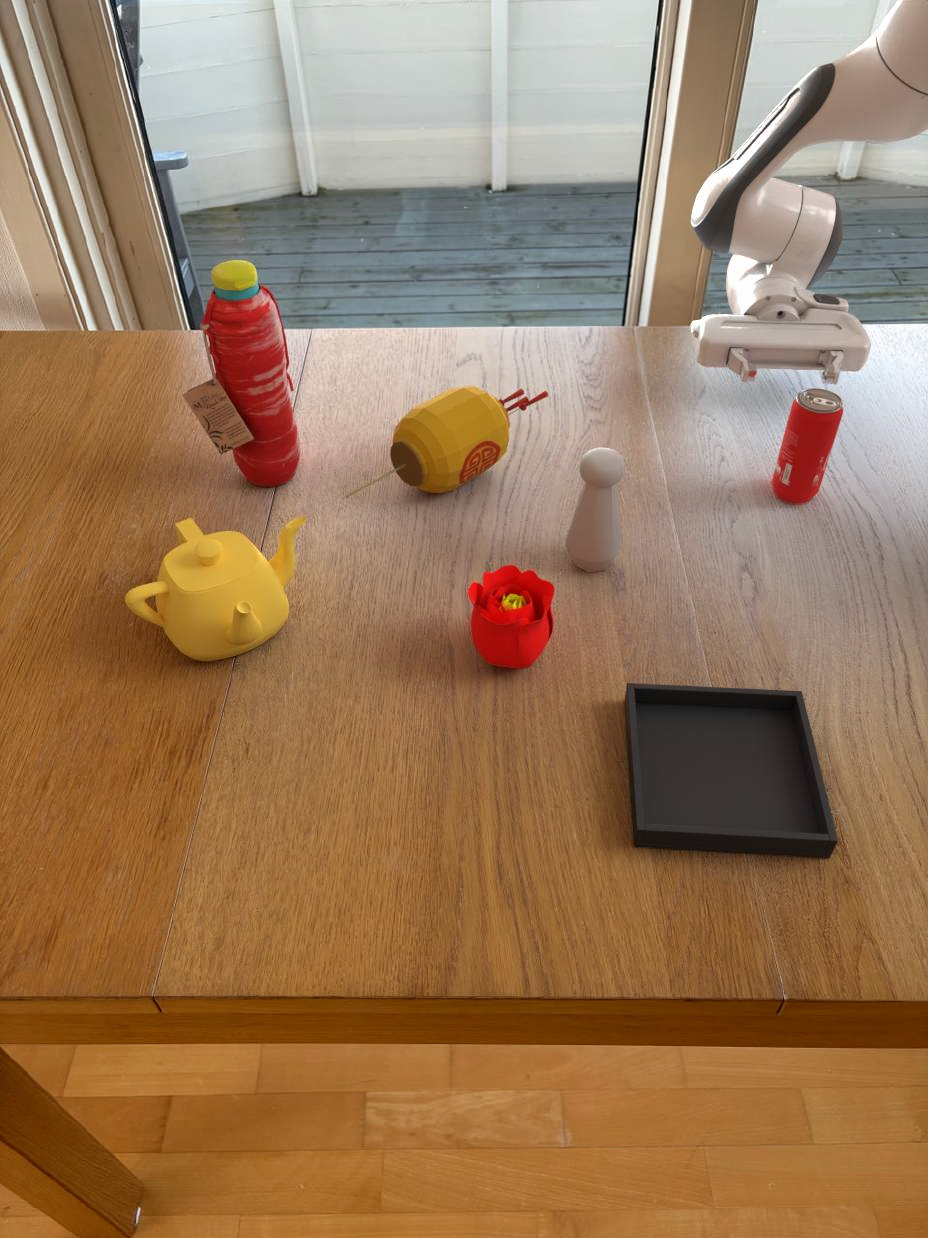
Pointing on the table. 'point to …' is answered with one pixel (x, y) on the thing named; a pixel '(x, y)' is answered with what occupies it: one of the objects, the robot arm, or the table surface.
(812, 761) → the tray
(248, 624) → the teapot
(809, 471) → the beverage can
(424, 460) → the lantern
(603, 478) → the salt shaker
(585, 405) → the table surface
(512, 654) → the flower
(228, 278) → the water bottle
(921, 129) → the robot arm
